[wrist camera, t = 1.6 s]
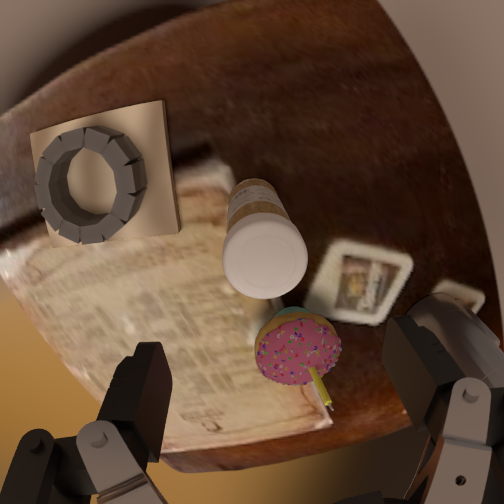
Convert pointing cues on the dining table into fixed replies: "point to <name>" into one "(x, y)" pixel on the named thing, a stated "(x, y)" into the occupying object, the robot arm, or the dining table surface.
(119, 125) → the ring holder
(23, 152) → the dining table surface
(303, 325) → the cupcake
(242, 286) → the sprinkles bottle
